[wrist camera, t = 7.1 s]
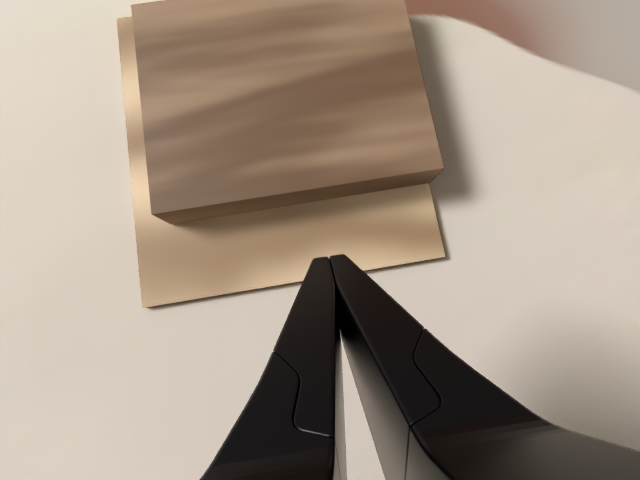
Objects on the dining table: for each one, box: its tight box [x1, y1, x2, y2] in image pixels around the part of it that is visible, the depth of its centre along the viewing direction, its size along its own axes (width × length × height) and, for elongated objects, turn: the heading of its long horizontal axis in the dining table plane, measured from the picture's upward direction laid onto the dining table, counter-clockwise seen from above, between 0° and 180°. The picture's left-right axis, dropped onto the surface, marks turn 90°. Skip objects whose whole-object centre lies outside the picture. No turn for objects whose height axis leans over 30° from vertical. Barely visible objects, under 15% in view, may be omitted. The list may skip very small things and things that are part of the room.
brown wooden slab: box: [131, 0, 444, 224], centre depth 21 cm, size 2×15×12 cm
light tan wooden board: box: [117, 17, 445, 308], centre depth 22 cm, size 18×17×1 cm
